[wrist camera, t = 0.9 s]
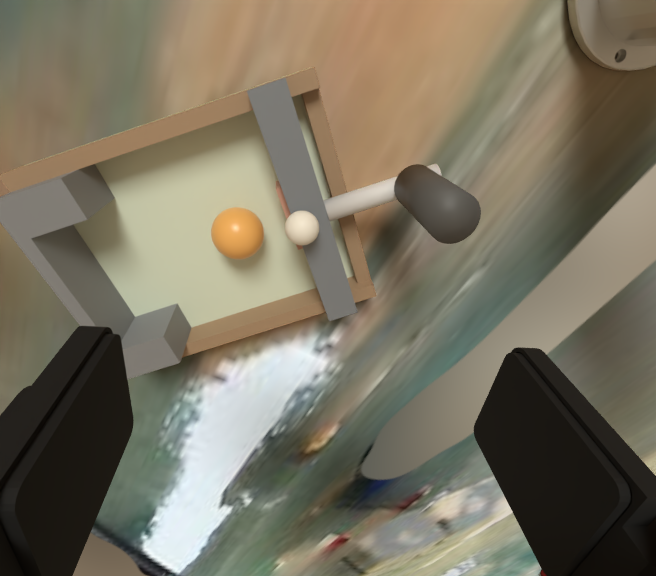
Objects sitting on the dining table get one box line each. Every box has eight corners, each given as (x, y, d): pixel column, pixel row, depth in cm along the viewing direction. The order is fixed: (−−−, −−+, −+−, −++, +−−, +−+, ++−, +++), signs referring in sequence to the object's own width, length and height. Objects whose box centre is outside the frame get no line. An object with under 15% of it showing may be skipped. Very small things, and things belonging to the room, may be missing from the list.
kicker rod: (403, 36, 26) (473, 17, 17) (439, 262, 35) (499, 332, 26) (240, 91, 27) (221, 102, 17) (317, 301, 36) (332, 383, 26)
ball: (253, 194, 31) (251, 209, 27) (271, 238, 33) (271, 258, 29) (206, 209, 31) (197, 227, 27) (226, 253, 33) (221, 274, 29)
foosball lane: (310, 67, 28) (318, 66, 23) (368, 277, 37) (383, 311, 32) (26, 164, 29) (-29, 185, 23) (150, 346, 38) (130, 390, 32)
